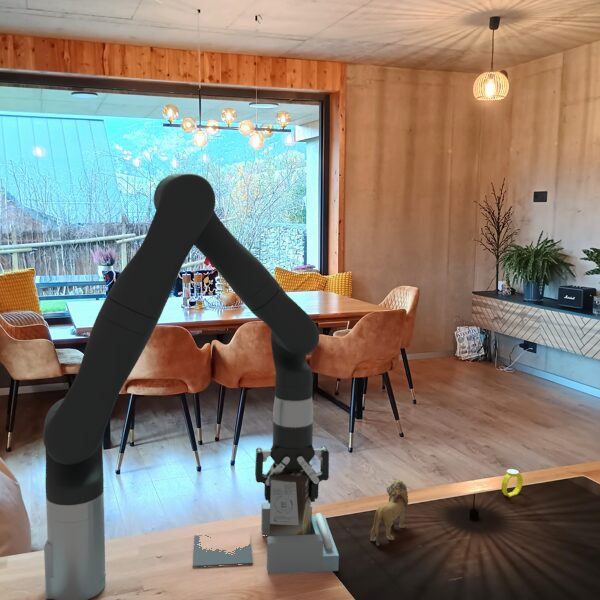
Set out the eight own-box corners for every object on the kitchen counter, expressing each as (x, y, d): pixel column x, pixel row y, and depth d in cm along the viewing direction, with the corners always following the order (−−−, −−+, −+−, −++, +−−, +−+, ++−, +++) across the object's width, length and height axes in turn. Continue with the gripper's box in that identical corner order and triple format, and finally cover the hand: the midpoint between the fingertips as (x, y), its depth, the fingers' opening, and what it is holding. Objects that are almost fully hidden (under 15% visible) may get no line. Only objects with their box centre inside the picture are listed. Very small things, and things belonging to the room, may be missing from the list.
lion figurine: (386, 514, 141) (388, 475, 140) (410, 519, 139) (412, 479, 138) (365, 545, 128) (367, 502, 127) (391, 551, 126) (393, 508, 125)
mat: (192, 567, 119) (192, 565, 119) (194, 537, 129) (194, 535, 129) (252, 564, 120) (252, 562, 120) (249, 535, 131) (249, 533, 131)
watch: (508, 501, 150) (508, 477, 149) (498, 496, 152) (499, 472, 151) (525, 493, 153) (525, 470, 152) (515, 489, 155) (515, 466, 154)
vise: (267, 574, 117) (268, 543, 116) (261, 530, 133) (261, 503, 132) (338, 570, 119) (339, 540, 118) (323, 528, 134) (324, 500, 134)
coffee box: (301, 565, 120) (303, 483, 118) (268, 560, 122) (269, 479, 119) (310, 540, 129) (312, 464, 127) (279, 536, 131) (281, 460, 128)
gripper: (256, 426, 117) (255, 511, 119) (334, 424, 119) (331, 508, 121) (253, 413, 125) (252, 493, 127) (327, 411, 126) (324, 491, 129)
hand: (291, 500), depth 124 cm, fingers closed on coffee box, 7 cm apart
